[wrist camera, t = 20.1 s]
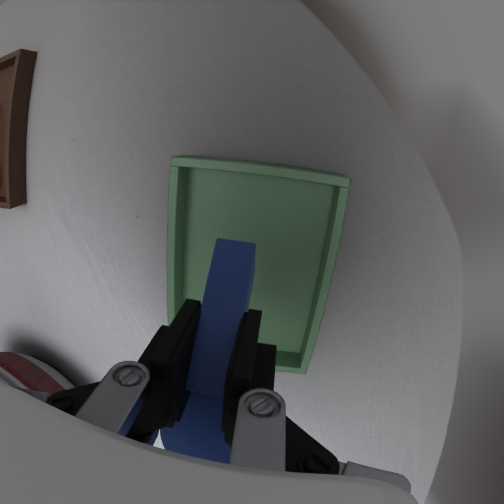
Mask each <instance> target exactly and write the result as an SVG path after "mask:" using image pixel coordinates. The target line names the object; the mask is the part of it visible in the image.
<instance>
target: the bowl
mask: <svg viewBox="0 0 504 504" xmlns="http://www.w3.org/2000/svg"><path fill="white" fill-rule="evenodd" d="M0 383H2V384H5V385H8V386H13V387H18V388H24V389H29V390H35V391H42V392H48V393H49V395H50V396H51V395H53V394H54V393H56V392H59V391H62V390H67V389H71V388H76V387H75V386H74V385H73V384H72V383H71V382H70V381H69V380H68V379H67V378H65V377H64V376H63V375H62V374H61V373H59V372H58V371H57V370H55V369H54V368H53V367H51V366H49V365H48V364H46V363H44V362H42V361H39V360H37V359H35V358H33V357H31V356H28V355H25V354H20V353H14V352H0Z"/></svg>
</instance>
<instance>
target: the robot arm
mask: <svg viewBox="0 0 504 504" xmlns="http://www.w3.org/2000/svg"><path fill="white" fill-rule="evenodd" d="M200 314H201V301H199V300H194V299H188V298H187V299H186V300H185V302H184V303H183V305H182V306H181V308H180V310H179V311H178V313H177V314H176V316H175V318H174V319H173V321H172V322H171V324H170V325H169V326H165V325H162V326H161V327H160V328H159V330H158V331H157V333H156V334H155V336H154V337H153V339H152V340H151V342H150V343H149V345H148V346H147V348H146V349H145V351H144V352H143V354H142V355H141V357H140V359H139V360H138V362H135V361H124V362H119V363H118V364H116V365H114V366H113V367H112V368H111V369H110V370H109V371H108V373H107V374H106V375H105V376H104V378H103V379H102V380H101V381H100V382H96V383H92V384H88V385H84V386H80V387H76V388H71V389H67V390H62V391H59V392H56V393H54V394H53V395H51V396H50V395H49V393H48V392H42V391H35V390H29V389H24V388H18V387H13V386H8V385H5V384H2V383H0V504H418V502H417V501H416V499H415V498H414V497H413V496H412V494H410V492H411V485H410V483H409V481H408V479H407V478H405V477H404V476H403V475H400V474H398V473H394V472H389V471H385V470H380V469H376V468H372V467H368V466H364V465H360V464H356V463H353V462H349V461H348V462H347V463H342V462H339V461H338V460H337V458H336V457H335V456H334V455H333V454H332V453H331V452H330V451H329V450H327V449H326V448H325V447H323V446H322V445H321V444H320V443H318V442H317V441H316V440H315V439H313V438H312V437H311V436H310V435H308V434H307V433H306V432H305V431H304V430H302V429H301V428H300V427H299V426H298V425H296V424H295V423H294V422H293V421H292V420H291V419H289V418H288V417H287V416H286V405H285V401H284V400H283V398H282V397H281V396H280V395H279V394H278V393H277V392H275V391H273V389H274V377H275V365H276V352H277V345H272V344H265V343H258V337H259V330H260V324H261V317H262V311H261V310H254V309H249V310H248V312H245V313H244V316H243V317H241V320H240V324H239V328H238V331H237V335H236V339H235V342H234V346H233V350H232V353H231V357H230V360H229V364H228V368H227V372H226V377H225V385H224V398H223V410H222V423H221V431H223V432H225V435H224V441H225V442H226V443H227V444H228V445H229V446H230V447H231V453H230V459H229V464H226V463H220V462H215V461H210V460H205V459H201V458H196V457H192V456H188V455H184V454H180V453H176V452H172V451H168V450H165V449H161V448H158V447H154V446H153V444H154V442H155V440H156V438H157V436H158V432H159V429H162V428H164V427H169V428H173V425H174V423H175V421H177V422H180V420H181V418H182V415H183V412H184V410H185V407H186V404H187V402H188V399H189V397H190V394H191V391H188V390H186V383H187V378H188V373H189V368H190V363H191V358H192V353H193V348H194V343H195V338H196V333H197V328H198V323H199V319H200Z"/></svg>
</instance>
